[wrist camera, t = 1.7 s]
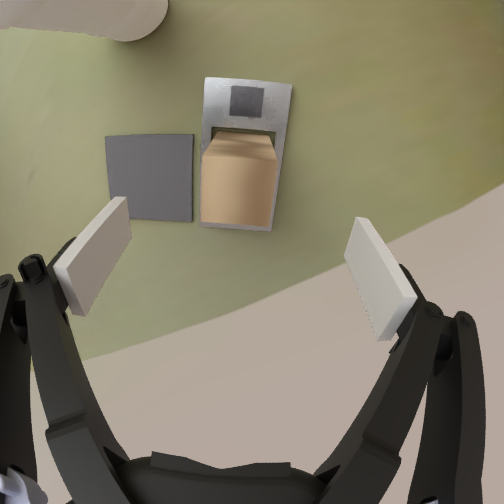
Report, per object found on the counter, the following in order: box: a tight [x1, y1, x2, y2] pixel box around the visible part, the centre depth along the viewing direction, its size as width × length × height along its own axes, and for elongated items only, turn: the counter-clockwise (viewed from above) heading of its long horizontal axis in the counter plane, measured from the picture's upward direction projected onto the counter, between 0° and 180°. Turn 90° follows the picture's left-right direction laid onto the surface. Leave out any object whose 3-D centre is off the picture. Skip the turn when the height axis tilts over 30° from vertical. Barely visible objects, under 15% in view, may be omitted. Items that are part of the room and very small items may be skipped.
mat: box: [105, 134, 194, 222], centre depth 28 cm, size 10×10×1 cm
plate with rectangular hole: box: [199, 77, 292, 232], centre depth 26 cm, size 8×16×1 cm, turn 174°
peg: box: [201, 131, 278, 227], centre depth 23 cm, size 5×5×10 cm
